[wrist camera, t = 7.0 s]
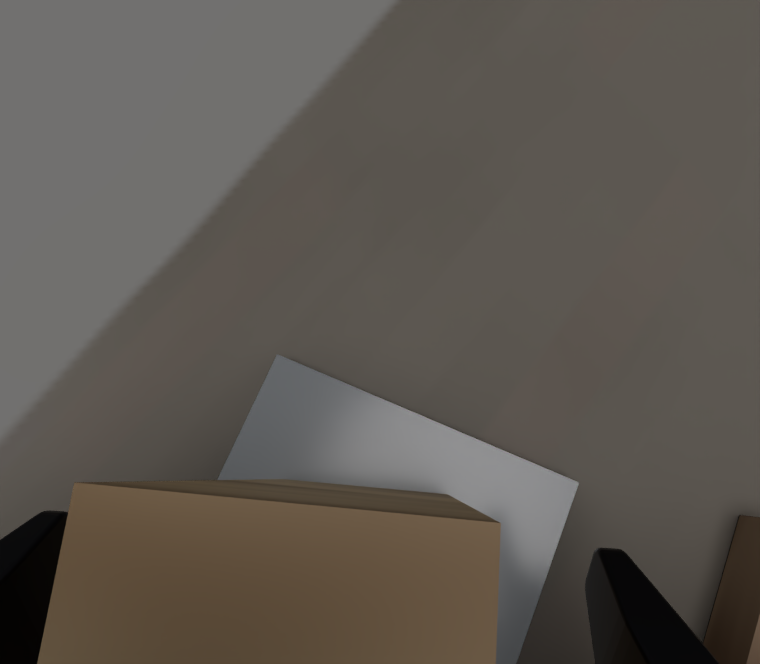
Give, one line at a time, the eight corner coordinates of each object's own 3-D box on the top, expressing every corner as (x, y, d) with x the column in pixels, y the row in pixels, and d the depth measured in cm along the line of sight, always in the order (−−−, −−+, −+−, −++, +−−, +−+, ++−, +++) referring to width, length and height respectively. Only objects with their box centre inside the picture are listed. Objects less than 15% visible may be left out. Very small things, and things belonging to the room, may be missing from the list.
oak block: (436, 680, 14) (479, 1093, 5) (259, 660, 15) (-35, 1006, 5) (447, 494, 16) (501, 522, 6) (282, 479, 16) (74, 482, 6)
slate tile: (450, 821, 15) (452, 846, 14) (143, 658, 16) (126, 669, 15) (569, 482, 16) (578, 482, 15) (284, 360, 18) (277, 354, 17)
